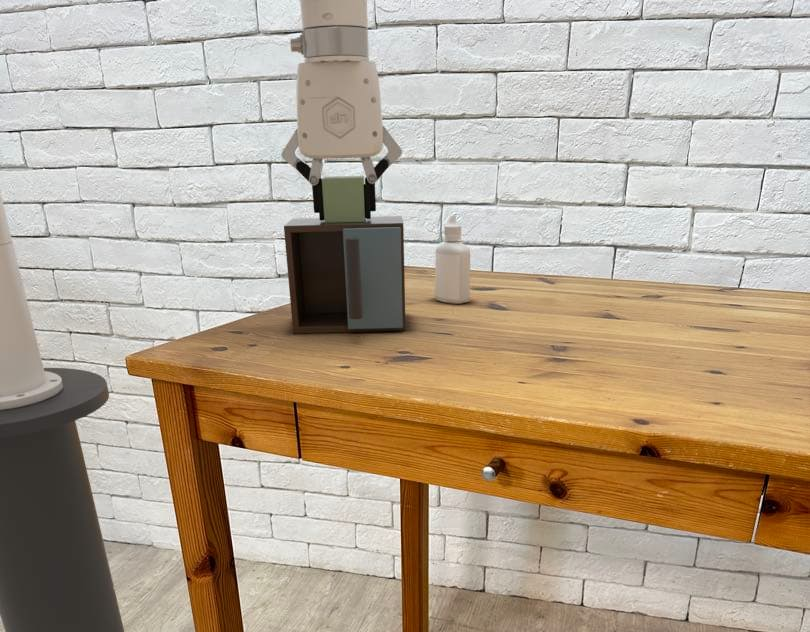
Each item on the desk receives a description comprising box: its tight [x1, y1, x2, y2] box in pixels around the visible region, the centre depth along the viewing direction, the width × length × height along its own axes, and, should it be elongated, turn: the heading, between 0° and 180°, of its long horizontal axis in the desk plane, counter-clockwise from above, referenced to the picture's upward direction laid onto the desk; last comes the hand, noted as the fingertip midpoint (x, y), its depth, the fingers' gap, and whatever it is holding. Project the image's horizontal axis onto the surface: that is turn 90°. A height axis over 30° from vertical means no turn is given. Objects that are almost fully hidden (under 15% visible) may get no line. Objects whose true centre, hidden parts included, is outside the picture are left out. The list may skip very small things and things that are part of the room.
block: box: [321, 175, 366, 223], centre depth 96 cm, size 5×5×5 cm
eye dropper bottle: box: [434, 214, 471, 305], centre depth 113 cm, size 4×6×12 cm
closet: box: [283, 215, 407, 334], centre depth 100 cm, size 9×15×13 cm, turn 91°
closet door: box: [343, 227, 403, 329], centre depth 93 cm, size 6×7×12 cm
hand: (345, 217), depth 97 cm, fingers closed on block, 5 cm apart
